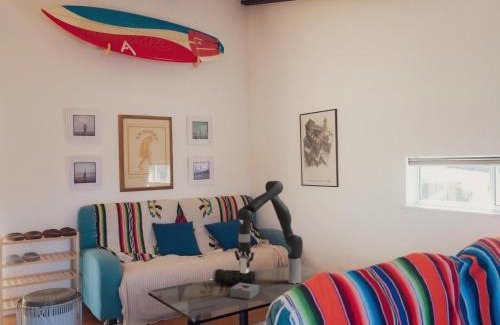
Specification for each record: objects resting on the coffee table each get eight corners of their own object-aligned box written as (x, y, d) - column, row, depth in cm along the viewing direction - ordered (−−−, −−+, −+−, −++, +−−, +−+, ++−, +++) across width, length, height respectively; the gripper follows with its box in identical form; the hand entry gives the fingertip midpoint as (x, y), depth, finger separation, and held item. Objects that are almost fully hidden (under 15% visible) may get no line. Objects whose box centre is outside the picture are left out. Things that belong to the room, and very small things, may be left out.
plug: (243, 271, 281) (243, 254, 281) (248, 271, 279) (248, 254, 279) (240, 272, 277) (240, 255, 277) (246, 273, 275) (246, 256, 275)
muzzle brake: (252, 288, 292) (252, 272, 292) (212, 285, 298) (212, 270, 298) (255, 284, 301) (255, 269, 301) (216, 281, 307) (216, 267, 307)
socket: (239, 290, 288) (239, 281, 288) (259, 292, 282) (259, 283, 282) (229, 296, 275) (229, 287, 275) (249, 299, 269) (249, 289, 269)
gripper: (257, 240, 278) (257, 267, 279) (237, 238, 284) (237, 264, 285) (252, 242, 271) (252, 270, 272) (231, 240, 278) (232, 267, 278)
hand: (244, 267), depth 278 cm, fingers closed on plug, 4 cm apart
